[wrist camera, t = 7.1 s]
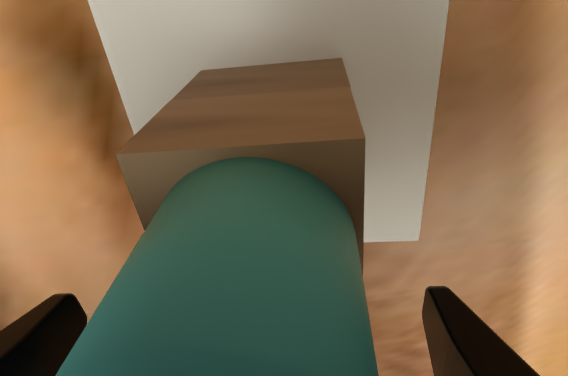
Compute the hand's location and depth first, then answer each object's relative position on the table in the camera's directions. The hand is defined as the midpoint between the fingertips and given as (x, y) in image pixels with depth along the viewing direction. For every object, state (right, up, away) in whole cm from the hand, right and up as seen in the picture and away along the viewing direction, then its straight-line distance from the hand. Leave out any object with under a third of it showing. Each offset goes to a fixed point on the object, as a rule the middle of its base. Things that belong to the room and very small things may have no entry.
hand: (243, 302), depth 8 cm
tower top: (0, +3, +5) cm, 6 cm away
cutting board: (+1, +6, +9) cm, 11 cm away
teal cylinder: (0, +1, +2) cm, 2 cm away
